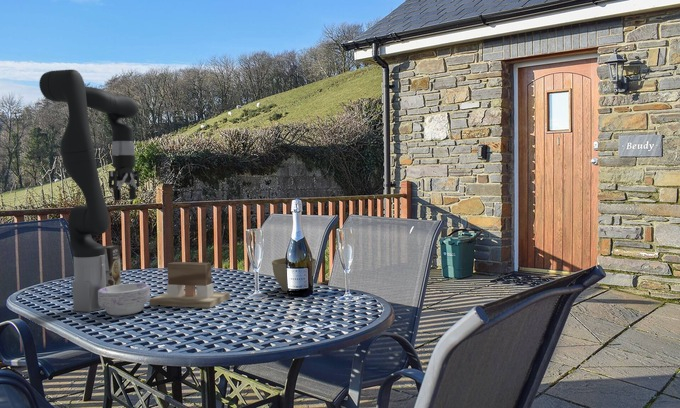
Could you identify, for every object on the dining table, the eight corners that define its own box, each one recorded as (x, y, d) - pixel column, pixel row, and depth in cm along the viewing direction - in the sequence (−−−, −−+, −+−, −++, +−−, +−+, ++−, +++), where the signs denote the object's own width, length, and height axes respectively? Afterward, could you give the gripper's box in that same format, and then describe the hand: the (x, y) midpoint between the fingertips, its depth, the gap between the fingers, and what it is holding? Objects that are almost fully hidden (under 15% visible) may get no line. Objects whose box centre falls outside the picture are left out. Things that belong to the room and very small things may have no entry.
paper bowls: (92, 312, 175) (91, 287, 174) (140, 304, 184) (139, 280, 184) (107, 321, 163) (106, 294, 163) (158, 312, 173) (157, 287, 172)
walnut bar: (205, 285, 183) (205, 264, 182) (168, 284, 186) (167, 263, 186) (211, 283, 187) (211, 262, 186) (174, 282, 190) (173, 261, 190)
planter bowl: (293, 283, 215) (293, 255, 214) (325, 288, 205) (325, 259, 204) (263, 290, 202) (262, 261, 202) (295, 296, 192) (294, 265, 192)
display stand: (210, 308, 177) (209, 289, 177) (149, 305, 183) (148, 286, 183) (229, 298, 191) (229, 281, 190) (173, 295, 196) (172, 279, 196)
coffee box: (111, 291, 207) (110, 248, 206) (94, 291, 207) (92, 248, 206) (121, 286, 216) (120, 244, 215) (105, 286, 216) (103, 245, 215)
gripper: (127, 155, 206) (128, 198, 207) (101, 154, 193) (103, 200, 193) (144, 154, 204) (146, 198, 205) (119, 153, 191) (121, 200, 191)
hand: (125, 199), depth 199 cm, fingers open, 8 cm apart
